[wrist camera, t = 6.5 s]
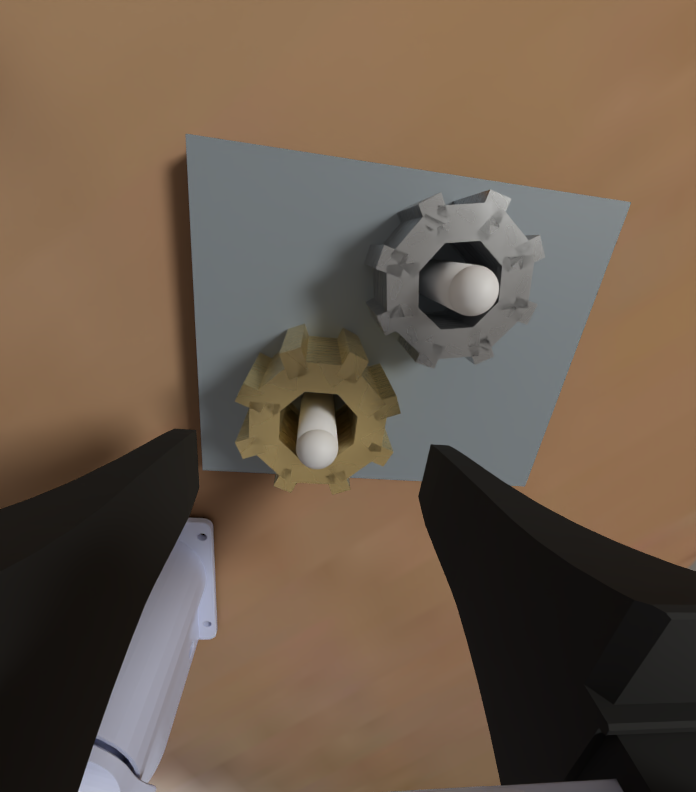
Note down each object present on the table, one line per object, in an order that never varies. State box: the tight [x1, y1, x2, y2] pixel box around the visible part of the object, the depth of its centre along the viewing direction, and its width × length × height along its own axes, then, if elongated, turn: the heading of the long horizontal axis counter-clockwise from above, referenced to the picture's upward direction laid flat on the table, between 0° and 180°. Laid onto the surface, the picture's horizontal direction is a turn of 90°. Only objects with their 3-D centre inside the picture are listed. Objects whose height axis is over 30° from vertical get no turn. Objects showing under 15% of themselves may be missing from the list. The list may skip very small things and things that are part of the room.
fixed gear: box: [364, 189, 545, 368], centre depth 12 cm, size 5×5×3 cm
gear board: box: [186, 134, 631, 486], centre depth 13 cm, size 13×16×6 cm
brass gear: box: [235, 324, 401, 495], centre depth 14 cm, size 6×6×4 cm
